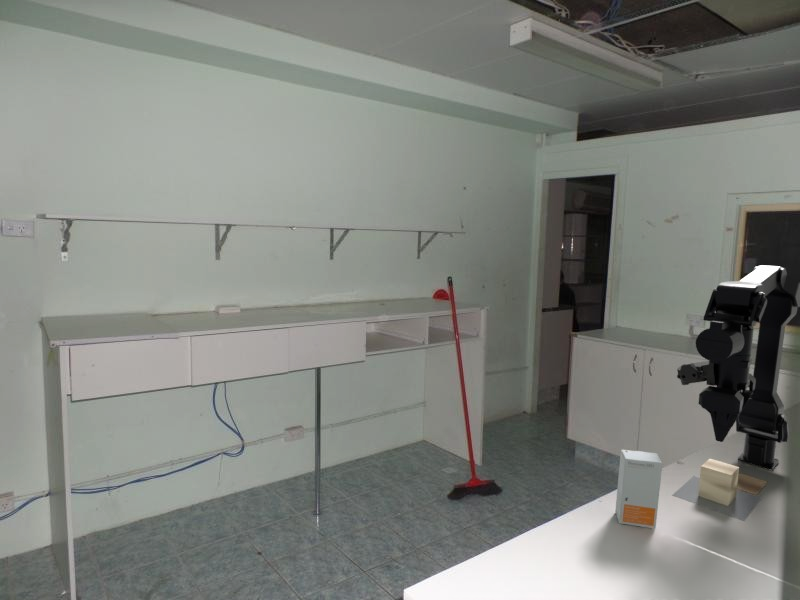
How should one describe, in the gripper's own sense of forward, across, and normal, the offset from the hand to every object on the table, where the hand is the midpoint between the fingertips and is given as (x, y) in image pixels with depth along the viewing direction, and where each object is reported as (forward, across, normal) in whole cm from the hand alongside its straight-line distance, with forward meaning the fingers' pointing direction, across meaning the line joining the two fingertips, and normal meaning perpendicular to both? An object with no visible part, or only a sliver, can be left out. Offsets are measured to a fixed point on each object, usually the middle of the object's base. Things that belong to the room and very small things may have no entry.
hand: (724, 433), depth 99 cm
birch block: (+13, 0, 0) cm, 13 cm away
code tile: (+13, 0, 0) cm, 13 cm away
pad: (+13, -10, +2) cm, 17 cm away
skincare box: (+13, +19, -9) cm, 25 cm away
